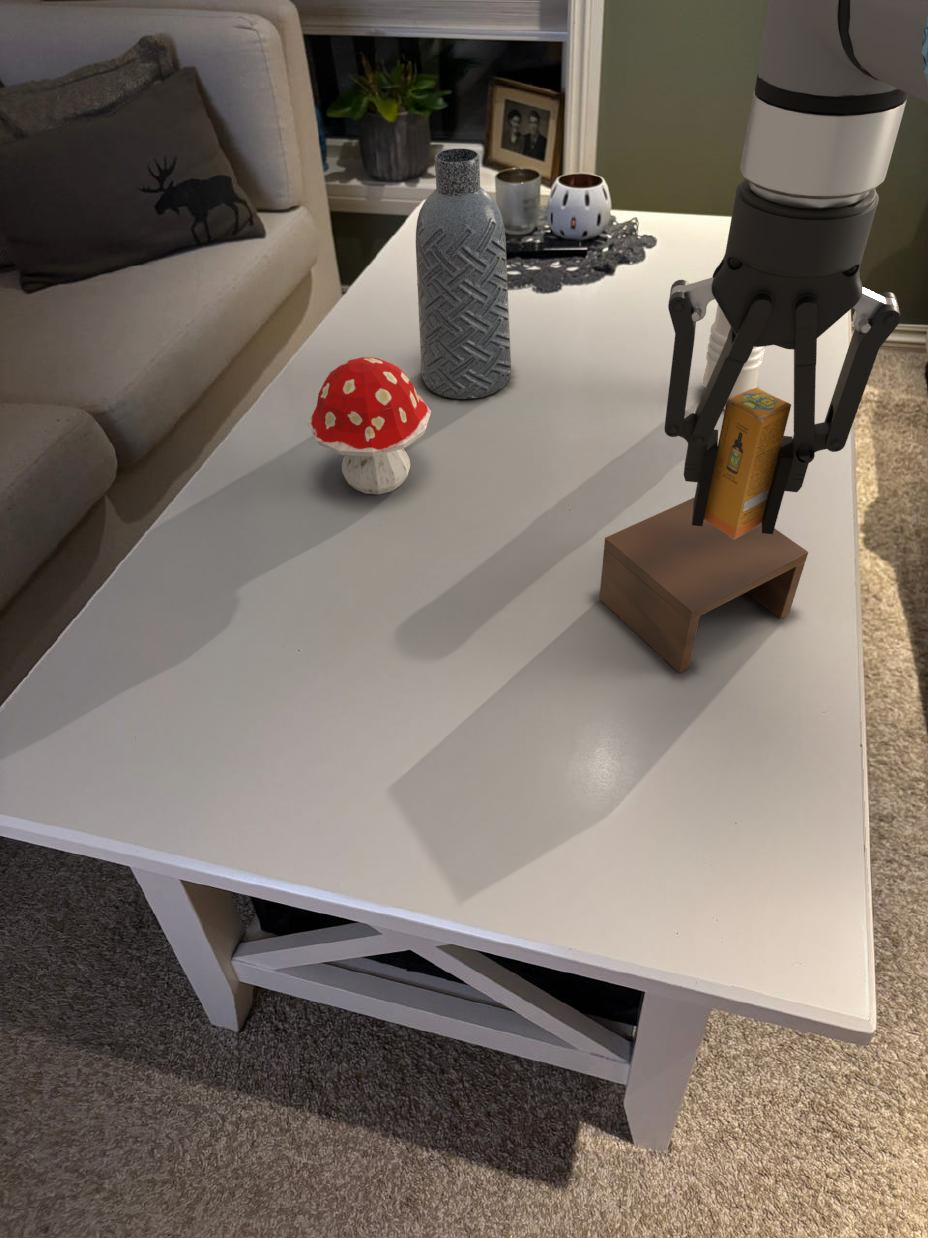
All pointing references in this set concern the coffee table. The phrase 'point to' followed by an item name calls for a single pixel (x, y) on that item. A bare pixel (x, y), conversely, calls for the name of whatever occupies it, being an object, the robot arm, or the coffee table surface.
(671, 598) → the shelf
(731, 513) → the supplement box
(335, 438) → the decorative mushroom
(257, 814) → the coffee table surface
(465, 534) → the coffee table surface
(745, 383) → the white ribbed cylinder
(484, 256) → the vase
